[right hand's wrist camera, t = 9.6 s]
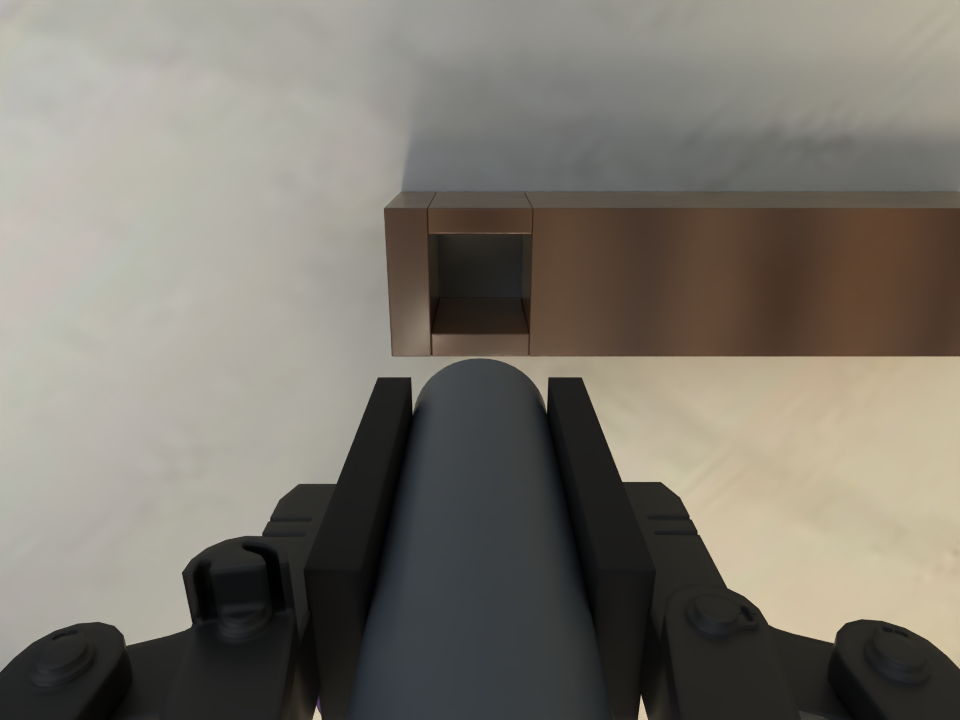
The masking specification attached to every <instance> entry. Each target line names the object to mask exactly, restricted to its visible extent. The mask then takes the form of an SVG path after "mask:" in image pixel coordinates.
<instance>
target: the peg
mask: <svg viewBox="0 0 960 720" xmlns="http://www.w3.org/2000/svg"><path fill="white" fill-rule="evenodd" d="M344 720H615V717H614V713H613V708H612V704H611V699H610V695H609V690H608V686H607V681H606V677H605V672H604V668H603V663H602V659H601V654H600V650H599V646H598V641H597V637H596V632H595V628H594V623H593V619H592V614H591V610H590V605H589V601H588V596H587V592H586V587H585V583H584V578H583V574H582V569H581V565H580V560H579V556H578V551H577V547H576V542H575V538H574V533H573V529H572V525H571V520H570V516H569V511H568V507H567V502H566V498H565V493H564V489H563V484H562V480H561V475H560V471H559V466H558V462H557V457H556V453H555V448H554V444H553V439H552V435H551V430H550V426H549V421H548V417H547V412H546V408H545V404H544V401H543V398H542V396H541V394H540V392H539V390H538V388H537V387H536V386H535V384H534V383H533V382H532V381H531V380H530V379H529V377H527V376H526V375H525V374H524V373H523V372H521V371H520V370H518V369H517V368H515V367H513V366H511V365H509V364H507V363H503V362H500V361H497V360H491V359H469V360H463V361H460V362H457V363H453V364H451V365H449V366H447V367H445V368H443V369H442V370H440V371H439V372H437V373H436V374H435V375H434V376H433V377H431V379H430V380H429V381H428V382H427V383H426V384H425V386H424V387H423V388H422V390H421V392H420V394H419V396H418V398H417V401H416V404H415V408H414V412H413V417H412V421H411V426H410V430H409V435H408V439H407V444H406V448H405V452H404V457H403V461H402V466H401V470H400V475H399V479H398V484H397V488H396V492H395V497H394V501H393V506H392V510H391V515H390V519H389V524H388V528H387V532H386V537H385V541H384V546H383V550H382V555H381V559H380V564H379V568H378V572H377V577H376V581H375V586H374V590H373V595H372V599H371V604H370V608H369V612H368V617H367V621H366V626H365V630H364V635H363V639H362V643H361V648H360V652H359V657H358V661H357V666H356V670H355V675H354V679H353V683H352V688H351V692H350V697H349V701H348V706H347V710H346V715H345V719H344Z"/></svg>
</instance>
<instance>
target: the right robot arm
mask: <svg viewBox="0 0 960 720" xmlns="http://www.w3.org/2000/svg"><path fill="white" fill-rule="evenodd" d="M412 417H413V411H412V388H411V377H391V378H378V379H377V381H376V384H375V386H374V389H373V392H372V394H371V397H370V399H369V402H368V404H367V407H366V410H365V412H364V415H363V417H362V420H361V423H360V425H359V428H358V430H357V433H356V435H355V438H354V441H353V443H352V446H351V448H350V451H349V453H348V456H347V459H346V461H345V464H344V466H343V469H342V471H341V474H340V477H339V479H338V482H337V484H298V485H297V486H296V487H295V488H294V489H292V490H291V491H290V492H289V493H287V494H286V495H285V496H284V497H283V498H281V499H280V500H279V502H278V504H277V506H276V508H275V510H274V512H273V514H272V516H271V518H270V522H268V523H267V525H266V527H265V529H264V531H263V533H262V536H243V537H238V538H233V539H228V540H225V541H222V542H220V543H218V544H215V545H213V546H211V547H208V548H206V549H205V550H204V551H202V552H201V553H200V554H198V555H197V556H196V557H194V558H193V559H192V560H191V561H190V562H189V564H188V565H187V566H186V568H185V569H184V571H183V572H182V575H183V580H184V585H185V590H186V595H187V599H188V604H189V609H190V614H191V618H192V623H193V624H192V627H191V628H189V629H187V630H185V631H182V632H179V633H176V634H173V635H170V636H166V637H162V638H158V639H154V640H149V641H145V642H141V643H137V644H133V645H129V646H126V644H125V640H124V636H123V634H122V633H121V632H120V631H119V630H118V629H117V628H116V627H115V626H112V625H108V624H105V623H101V622H92V623H80V624H75V625H72V626H69V627H66V628H63V629H59V630H56V631H54V632H52V633H50V634H48V635H46V636H45V637H43V638H41V639H39V640H37V641H35V642H33V643H32V644H31V645H29V646H28V647H27V648H26V649H25V650H23V651H22V652H21V653H20V654H19V655H17V656H16V657H15V658H14V659H13V660H12V661H11V662H10V663H9V664H8V665H7V666H6V667H5V668H4V669H3V670H2V671H1V672H0V720H312V719H313V715H314V712H315V708H316V704H317V701H318V697H319V701H320V709H321V717H322V720H344V719H345V715H346V710H347V706H348V701H349V697H350V692H351V688H352V683H353V679H354V675H355V670H356V666H357V661H358V657H359V652H360V648H361V643H362V639H363V635H364V630H365V626H366V621H367V617H368V612H369V608H370V604H371V599H372V595H373V590H374V586H375V581H376V577H377V572H378V568H379V564H380V559H381V555H382V550H383V546H384V541H385V537H386V532H387V528H388V524H389V519H390V515H391V510H392V506H393V501H394V497H395V492H396V488H397V484H398V479H399V475H400V470H401V466H402V461H403V457H404V452H405V448H406V444H407V439H408V435H409V430H410V426H411V421H412ZM547 417H548V421H549V426H550V430H551V435H552V439H553V444H554V448H555V453H556V457H557V462H558V466H559V471H560V475H561V480H562V484H563V489H564V493H565V498H566V502H567V507H568V511H569V516H570V520H571V525H572V529H573V533H574V538H575V542H576V547H577V551H578V556H579V560H580V565H581V569H582V574H583V578H584V583H585V587H586V592H587V596H588V601H589V605H590V610H591V614H592V619H593V623H594V628H595V632H596V637H597V641H598V646H599V650H600V654H601V659H602V663H603V668H604V672H605V677H606V681H607V686H608V690H609V695H610V699H611V704H612V708H613V713H614V717H615V720H638V714H639V705H640V697H641V696H642V699H643V703H644V706H645V710H646V714H647V717H648V720H960V669H959V668H958V667H957V666H956V665H955V664H954V663H953V662H952V661H951V660H950V659H949V658H948V657H947V656H946V655H945V654H944V653H943V652H942V651H940V650H939V649H938V648H937V647H935V646H934V645H933V644H932V643H931V642H929V641H928V640H926V639H925V638H923V637H921V636H919V635H917V634H915V633H913V632H911V631H910V630H908V629H906V628H903V627H900V626H897V625H893V624H890V623H887V622H884V621H876V620H864V619H861V620H857V621H853V622H849V623H846V624H845V625H844V626H843V627H842V628H841V629H840V630H839V631H838V632H837V634H836V638H835V642H834V643H829V642H825V641H821V640H817V639H813V638H809V637H804V636H800V635H796V634H792V633H789V632H786V631H782V630H779V629H776V628H774V627H772V626H770V625H768V623H767V621H766V620H765V618H764V616H763V615H762V613H761V611H760V610H759V608H757V607H756V606H755V605H754V604H753V603H751V602H750V601H749V600H748V599H747V598H745V597H744V596H742V595H740V594H738V593H736V592H734V591H732V590H730V589H728V588H727V587H726V585H725V583H724V581H723V579H722V577H721V575H720V573H719V571H718V569H717V567H716V566H715V564H714V562H713V560H712V558H711V556H710V554H709V552H708V550H707V548H706V546H705V545H704V543H703V541H702V539H701V537H700V535H698V533H697V529H696V527H695V525H694V524H693V522H692V520H690V516H689V514H688V512H687V510H686V508H685V506H684V504H683V502H682V501H681V499H680V497H678V496H677V495H676V494H675V493H674V492H672V491H671V490H670V489H669V488H667V487H666V486H665V485H664V484H662V483H661V482H622V480H621V478H620V475H619V473H618V470H617V467H616V465H615V462H614V460H613V457H612V455H611V452H610V449H609V447H608V444H607V442H606V439H605V436H604V434H603V431H602V429H601V426H600V424H599V421H598V418H597V416H596V413H595V411H594V408H593V406H592V403H591V400H590V398H589V395H588V393H587V390H586V387H585V385H584V382H583V380H582V378H548V402H547Z"/></svg>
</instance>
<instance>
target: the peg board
mask: <svg viewBox="0 0 960 720" xmlns="http://www.w3.org/2000/svg"><path fill="white" fill-rule="evenodd" d="M384 218H385V237H386V255H387V274H388V293H389V311H390V330H391V348H392V356H431V355H432V356H528V355H529V356H960V192H437V193H436V192H401V193H400V194H398V195H397V196H396V197H395V198H394V199H393V200H392V201H391V202H390V203H389V204H388V205H387V206H386V207H385V208H384ZM437 234H523V255H522V296H521V298H439V277H438V236H437Z"/></svg>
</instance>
